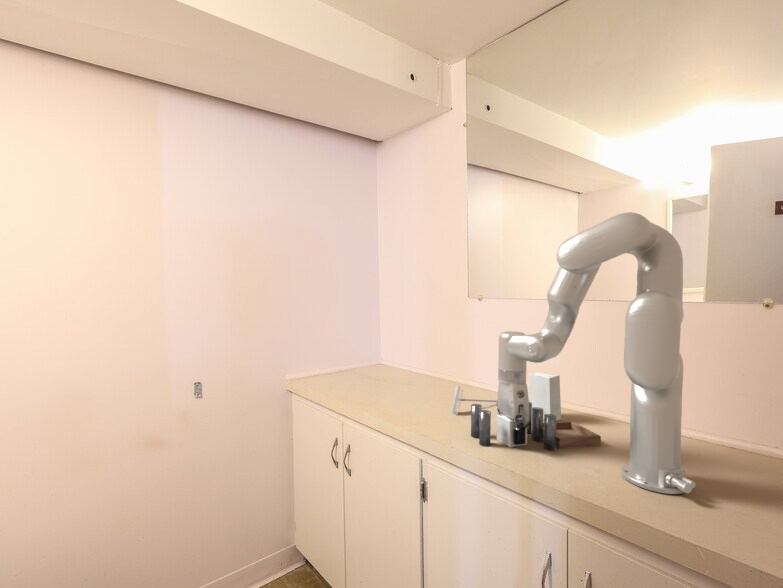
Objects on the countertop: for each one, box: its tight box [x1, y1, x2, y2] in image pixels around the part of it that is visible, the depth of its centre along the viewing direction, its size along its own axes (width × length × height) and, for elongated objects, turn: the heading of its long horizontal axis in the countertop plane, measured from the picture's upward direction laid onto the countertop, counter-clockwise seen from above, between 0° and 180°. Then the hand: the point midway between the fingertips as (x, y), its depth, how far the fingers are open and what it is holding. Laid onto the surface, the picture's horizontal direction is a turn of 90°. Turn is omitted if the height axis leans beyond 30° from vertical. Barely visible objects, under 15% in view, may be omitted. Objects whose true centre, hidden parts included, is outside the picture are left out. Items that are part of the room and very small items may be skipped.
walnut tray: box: [543, 420, 602, 449], centre depth 112 cm, size 13×13×3 cm
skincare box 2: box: [528, 371, 562, 422], centre depth 130 cm, size 8×6×15 cm
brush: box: [449, 385, 498, 416], centre depth 141 cm, size 4×28×9 cm, turn 120°
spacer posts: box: [470, 401, 557, 452], centre depth 109 cm, size 15×19×9 cm
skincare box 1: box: [496, 413, 528, 448], centre depth 109 cm, size 6×6×7 cm
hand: (511, 437), depth 109 cm, fingers open, 8 cm apart
